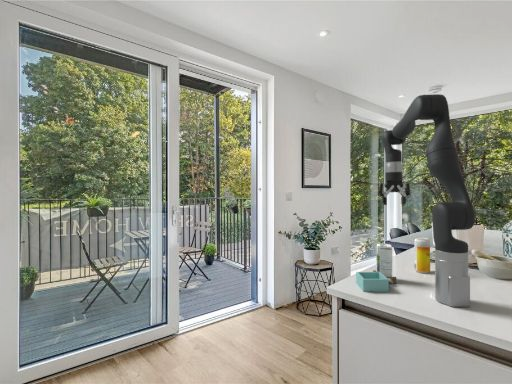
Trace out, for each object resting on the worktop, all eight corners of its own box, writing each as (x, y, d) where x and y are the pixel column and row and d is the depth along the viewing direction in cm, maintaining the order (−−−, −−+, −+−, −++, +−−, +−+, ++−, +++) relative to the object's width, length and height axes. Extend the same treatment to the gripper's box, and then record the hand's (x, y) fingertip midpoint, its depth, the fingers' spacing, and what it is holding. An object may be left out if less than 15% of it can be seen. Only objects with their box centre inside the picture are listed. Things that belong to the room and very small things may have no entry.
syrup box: (376, 276, 124) (375, 243, 123) (391, 278, 121) (391, 243, 121) (376, 281, 118) (376, 245, 118) (392, 282, 116) (392, 246, 116)
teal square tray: (388, 291, 107) (388, 279, 107) (363, 291, 107) (363, 279, 107) (379, 283, 116) (379, 271, 116) (356, 283, 116) (356, 272, 116)
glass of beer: (433, 273, 126) (433, 239, 126) (419, 274, 126) (418, 239, 126) (425, 269, 132) (425, 237, 132) (411, 269, 132) (411, 237, 132)
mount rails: (399, 285, 112) (399, 279, 112) (383, 285, 112) (383, 279, 112) (387, 276, 124) (387, 270, 124) (373, 276, 125) (372, 270, 125)
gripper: (381, 171, 137) (382, 205, 138) (412, 170, 136) (412, 205, 137) (376, 172, 145) (376, 204, 145) (405, 171, 144) (405, 204, 144)
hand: (394, 204), depth 141 cm, fingers open, 8 cm apart
